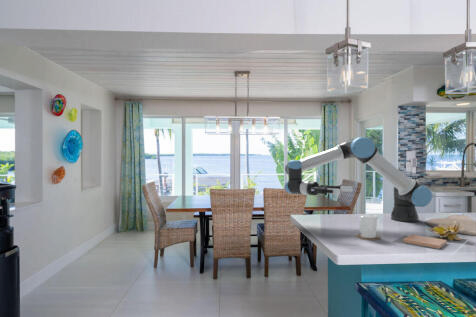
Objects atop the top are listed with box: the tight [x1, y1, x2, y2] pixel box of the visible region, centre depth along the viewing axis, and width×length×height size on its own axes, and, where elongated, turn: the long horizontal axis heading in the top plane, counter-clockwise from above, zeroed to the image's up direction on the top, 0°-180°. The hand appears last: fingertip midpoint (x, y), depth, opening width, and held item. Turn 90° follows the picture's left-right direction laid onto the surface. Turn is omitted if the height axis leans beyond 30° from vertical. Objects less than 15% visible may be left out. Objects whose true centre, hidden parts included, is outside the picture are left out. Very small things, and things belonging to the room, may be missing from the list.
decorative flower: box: [427, 220, 465, 241], centre depth 149 cm, size 15×11×10 cm
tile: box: [403, 234, 448, 250], centre depth 139 cm, size 12×2×14 cm
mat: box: [392, 235, 436, 250], centre depth 141 cm, size 16×17×1 cm
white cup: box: [358, 213, 378, 238], centre depth 150 cm, size 8×8×10 cm
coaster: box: [355, 233, 382, 241], centre depth 150 cm, size 11×11×1 cm
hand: (346, 190), depth 158 cm, fingers open, 13 cm apart
